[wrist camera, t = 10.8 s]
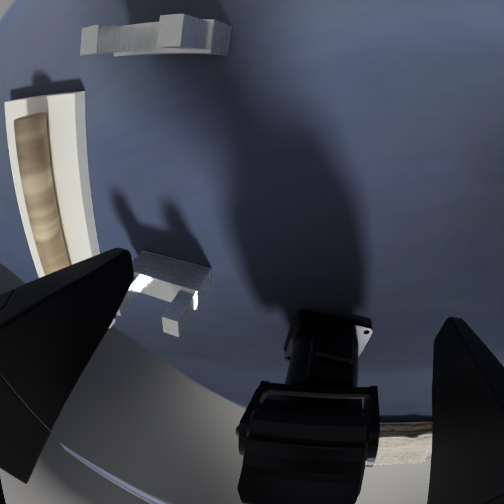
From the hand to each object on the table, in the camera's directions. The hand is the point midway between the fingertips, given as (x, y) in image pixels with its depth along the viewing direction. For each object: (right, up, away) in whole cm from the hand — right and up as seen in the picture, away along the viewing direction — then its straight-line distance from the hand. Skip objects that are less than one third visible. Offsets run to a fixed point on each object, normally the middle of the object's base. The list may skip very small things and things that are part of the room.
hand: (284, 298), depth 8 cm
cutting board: (-20, +5, +19) cm, 28 cm away
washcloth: (+18, -25, +27) cm, 41 cm away
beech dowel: (-20, +3, +17) cm, 26 cm away
